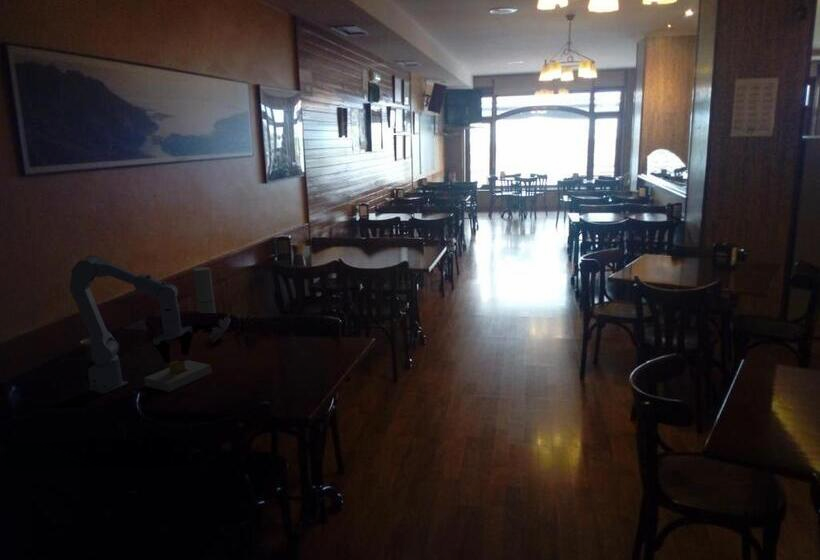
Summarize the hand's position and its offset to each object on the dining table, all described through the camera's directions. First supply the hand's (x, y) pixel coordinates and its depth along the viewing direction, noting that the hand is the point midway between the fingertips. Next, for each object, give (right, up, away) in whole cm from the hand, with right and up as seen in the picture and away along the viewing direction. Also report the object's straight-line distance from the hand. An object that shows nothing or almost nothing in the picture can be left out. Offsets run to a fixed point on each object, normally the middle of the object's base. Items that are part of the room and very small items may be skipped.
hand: (176, 358), depth 211 cm
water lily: (+2, +2, +43) cm, 43 cm away
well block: (0, -7, +2) cm, 8 cm away
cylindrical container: (-10, +7, +65) cm, 66 cm away
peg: (0, -7, +2) cm, 8 cm away
